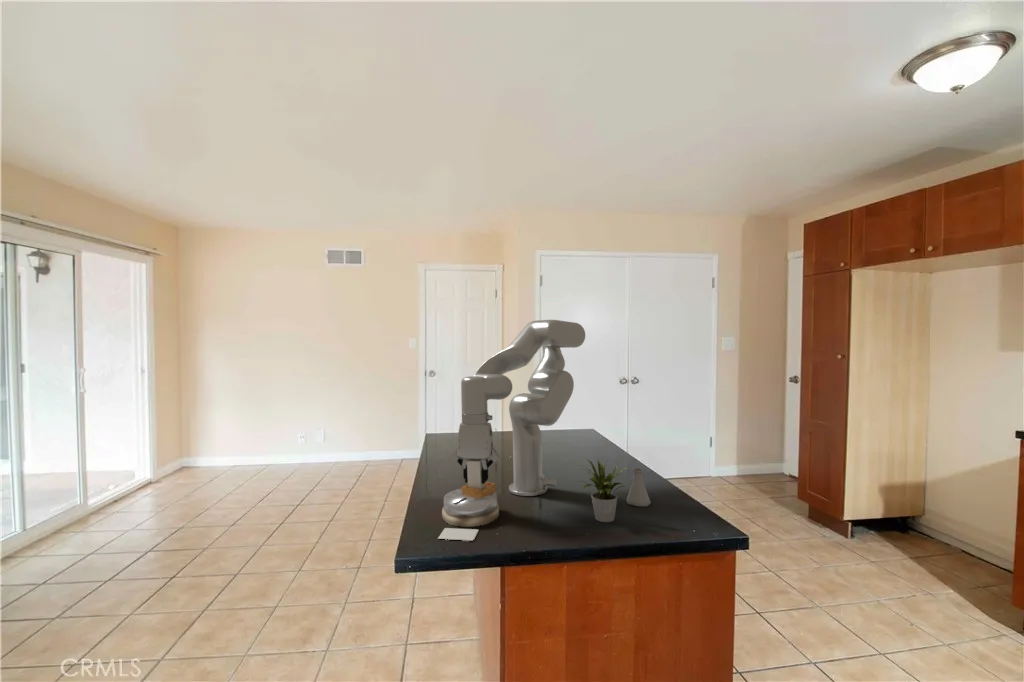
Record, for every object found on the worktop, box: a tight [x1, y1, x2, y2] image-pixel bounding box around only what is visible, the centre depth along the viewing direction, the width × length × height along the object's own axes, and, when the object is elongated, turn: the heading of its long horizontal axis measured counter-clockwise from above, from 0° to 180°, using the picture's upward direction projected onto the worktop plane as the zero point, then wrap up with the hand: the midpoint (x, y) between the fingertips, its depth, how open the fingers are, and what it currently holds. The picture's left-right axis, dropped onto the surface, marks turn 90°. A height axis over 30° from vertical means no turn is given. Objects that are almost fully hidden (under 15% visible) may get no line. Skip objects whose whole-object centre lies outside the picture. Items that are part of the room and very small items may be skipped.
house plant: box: [581, 458, 628, 523], centre depth 120 cm, size 14×14×16 cm
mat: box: [437, 527, 479, 542], centre depth 111 cm, size 9×6×1 cm, turn 82°
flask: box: [625, 467, 652, 507], centre depth 130 cm, size 7×7×10 cm
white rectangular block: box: [467, 459, 487, 490], centre depth 127 cm, size 4×4×9 cm
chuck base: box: [441, 503, 500, 528], centre depth 123 cm, size 16×16×2 cm
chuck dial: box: [443, 481, 498, 518], centre depth 123 cm, size 15×15×5 cm
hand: (476, 481), depth 127 cm, fingers open, 4 cm apart
